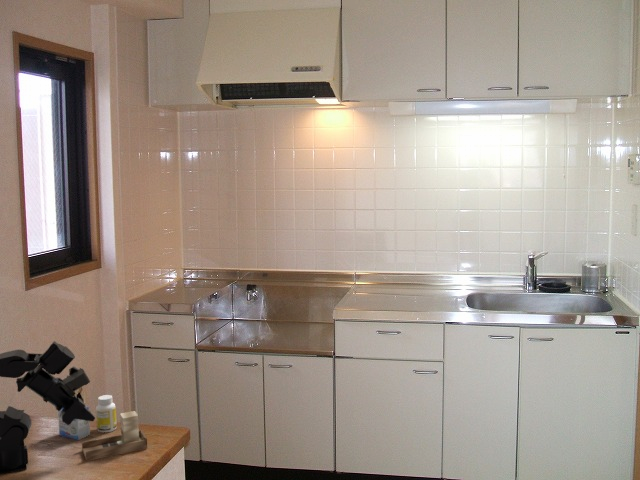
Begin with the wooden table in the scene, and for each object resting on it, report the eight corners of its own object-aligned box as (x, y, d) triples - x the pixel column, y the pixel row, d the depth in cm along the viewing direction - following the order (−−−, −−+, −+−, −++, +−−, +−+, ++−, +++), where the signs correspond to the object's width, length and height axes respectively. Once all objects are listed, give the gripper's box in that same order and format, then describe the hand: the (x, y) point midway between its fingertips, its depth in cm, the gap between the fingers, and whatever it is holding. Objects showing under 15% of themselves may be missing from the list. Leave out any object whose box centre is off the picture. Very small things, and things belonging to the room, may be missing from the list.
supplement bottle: (110, 424, 204) (109, 392, 203) (120, 429, 200) (118, 396, 199) (93, 429, 200) (92, 397, 199) (103, 434, 196) (101, 401, 195)
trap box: (86, 460, 179) (85, 450, 179) (82, 450, 186) (81, 440, 185) (147, 448, 187) (146, 438, 186) (141, 439, 193) (141, 429, 192)
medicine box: (58, 435, 196) (57, 406, 195) (71, 430, 200) (69, 401, 199) (78, 440, 192) (76, 411, 191) (90, 435, 196) (89, 406, 195)
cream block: (124, 446, 185) (122, 418, 184) (121, 441, 189) (120, 413, 188) (139, 443, 187) (137, 415, 186) (136, 438, 190) (134, 410, 189)
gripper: (73, 371, 170) (121, 406, 176) (64, 352, 186) (108, 385, 193) (41, 407, 167) (91, 441, 174) (35, 385, 184) (81, 417, 190)
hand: (93, 419), depth 183 cm, fingers closed
